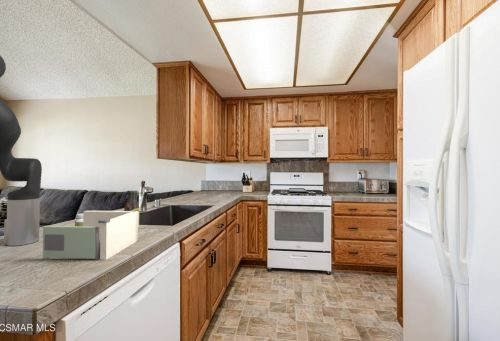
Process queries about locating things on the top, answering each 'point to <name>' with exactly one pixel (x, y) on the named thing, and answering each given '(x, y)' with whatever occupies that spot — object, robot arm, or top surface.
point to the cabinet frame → (113, 229)
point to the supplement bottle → (79, 220)
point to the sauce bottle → (132, 203)
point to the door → (70, 242)
